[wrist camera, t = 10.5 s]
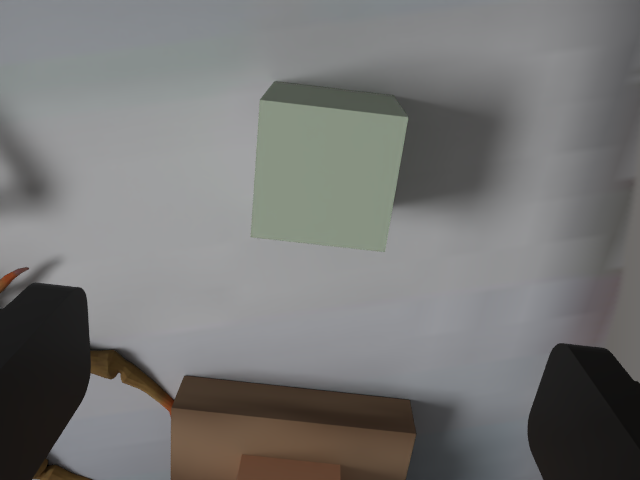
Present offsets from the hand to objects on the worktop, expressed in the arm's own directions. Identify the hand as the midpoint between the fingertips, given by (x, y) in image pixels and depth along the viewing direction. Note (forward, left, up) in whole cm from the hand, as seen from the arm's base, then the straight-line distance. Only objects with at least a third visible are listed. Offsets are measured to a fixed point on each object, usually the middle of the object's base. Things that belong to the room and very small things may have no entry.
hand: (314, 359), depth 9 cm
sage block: (0, 0, -16) cm, 16 cm away
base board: (+18, 0, -15) cm, 24 cm away
